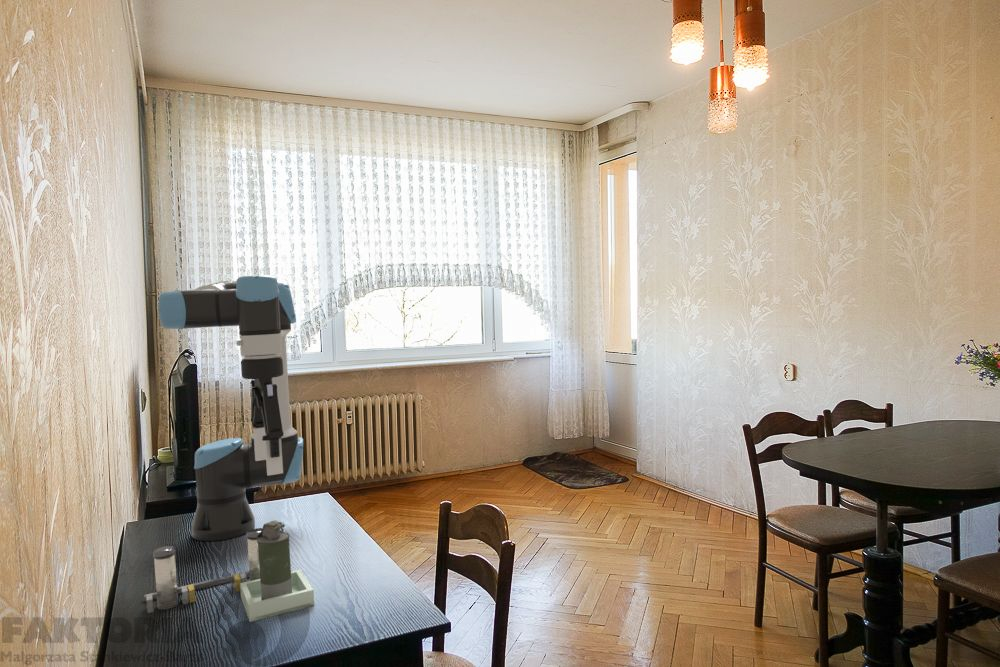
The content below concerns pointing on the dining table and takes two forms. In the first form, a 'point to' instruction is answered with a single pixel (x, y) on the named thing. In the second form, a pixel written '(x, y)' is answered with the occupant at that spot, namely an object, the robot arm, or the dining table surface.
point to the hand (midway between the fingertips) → (268, 466)
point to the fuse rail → (170, 591)
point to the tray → (276, 598)
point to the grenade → (274, 561)
